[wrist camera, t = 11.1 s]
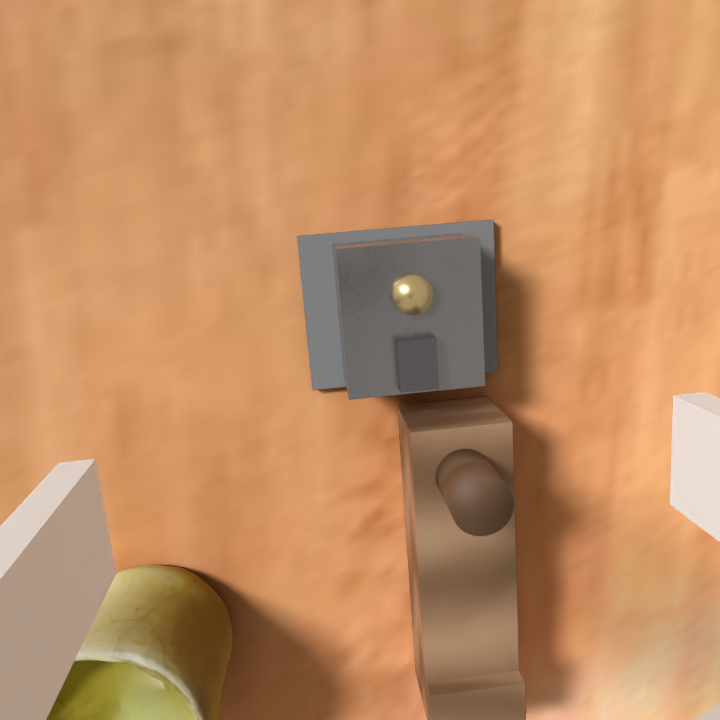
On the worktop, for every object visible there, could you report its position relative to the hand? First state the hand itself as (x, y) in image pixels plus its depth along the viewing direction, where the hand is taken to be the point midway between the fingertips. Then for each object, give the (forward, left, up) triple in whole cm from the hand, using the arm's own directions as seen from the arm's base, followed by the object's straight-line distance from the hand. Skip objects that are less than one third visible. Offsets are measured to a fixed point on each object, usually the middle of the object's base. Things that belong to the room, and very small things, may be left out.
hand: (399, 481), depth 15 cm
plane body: (+5, -13, -20) cm, 25 cm away
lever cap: (+3, +1, -20) cm, 20 cm away
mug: (-14, -16, -20) cm, 30 cm away
